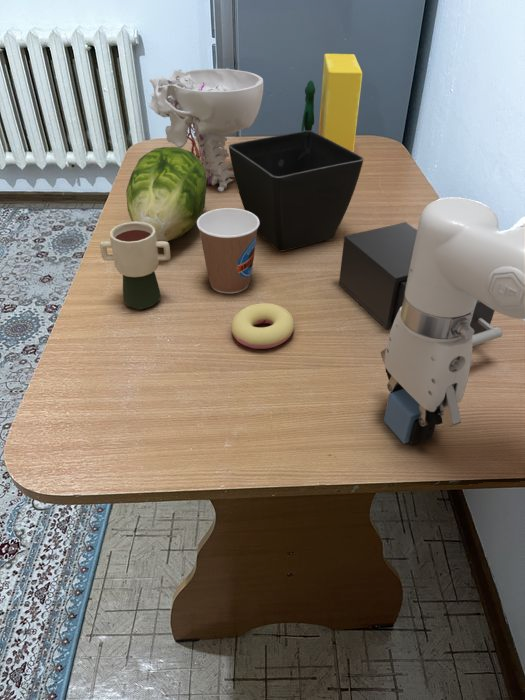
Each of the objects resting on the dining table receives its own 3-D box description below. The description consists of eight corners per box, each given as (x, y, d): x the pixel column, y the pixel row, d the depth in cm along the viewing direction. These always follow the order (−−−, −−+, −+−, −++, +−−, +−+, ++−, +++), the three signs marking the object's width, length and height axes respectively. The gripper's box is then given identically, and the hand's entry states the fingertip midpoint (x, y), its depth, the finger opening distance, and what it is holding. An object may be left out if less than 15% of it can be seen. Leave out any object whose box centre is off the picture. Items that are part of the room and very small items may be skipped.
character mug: (176, 289, 99) (170, 221, 90) (173, 313, 93) (165, 242, 85) (114, 289, 98) (101, 221, 90) (106, 313, 93) (92, 242, 84)
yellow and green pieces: (297, 152, 151) (303, 53, 136) (344, 153, 151) (354, 54, 135) (299, 178, 137) (305, 71, 122) (350, 179, 137) (362, 72, 122)
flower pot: (228, 223, 118) (226, 142, 108) (305, 205, 125) (310, 128, 115) (272, 264, 105) (275, 177, 95) (355, 242, 113) (366, 159, 102)
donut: (301, 345, 90) (264, 312, 95) (309, 323, 87) (271, 289, 92) (253, 364, 84) (217, 327, 89) (261, 340, 81) (222, 303, 86)
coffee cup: (248, 304, 95) (248, 240, 88) (191, 293, 98) (186, 230, 90) (265, 273, 103) (267, 212, 95) (213, 264, 105) (210, 204, 98)
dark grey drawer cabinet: (448, 311, 95) (461, 260, 89) (385, 329, 90) (395, 278, 84) (396, 269, 105) (405, 222, 99) (338, 284, 101) (344, 235, 94)
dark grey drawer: (505, 354, 84) (521, 312, 80) (444, 375, 81) (457, 332, 76) (430, 294, 97) (440, 254, 92) (374, 309, 93) (381, 269, 88)
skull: (260, 167, 142) (261, 68, 128) (263, 199, 128) (265, 91, 113) (161, 167, 141) (150, 67, 127) (152, 199, 127) (139, 91, 112)
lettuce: (116, 265, 104) (102, 185, 95) (147, 203, 125) (138, 132, 115) (196, 269, 104) (190, 189, 94) (214, 206, 124) (211, 135, 115)
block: (432, 433, 73) (440, 405, 70) (403, 444, 72) (410, 416, 68) (411, 410, 76) (417, 383, 73) (383, 420, 75) (389, 393, 72)
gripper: (518, 346, 58) (474, 463, 69) (416, 268, 69) (393, 378, 81) (460, 366, 55) (425, 483, 67) (365, 282, 67) (348, 393, 78)
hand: (408, 425), depth 74 cm, fingers closed on block, 4 cm apart
